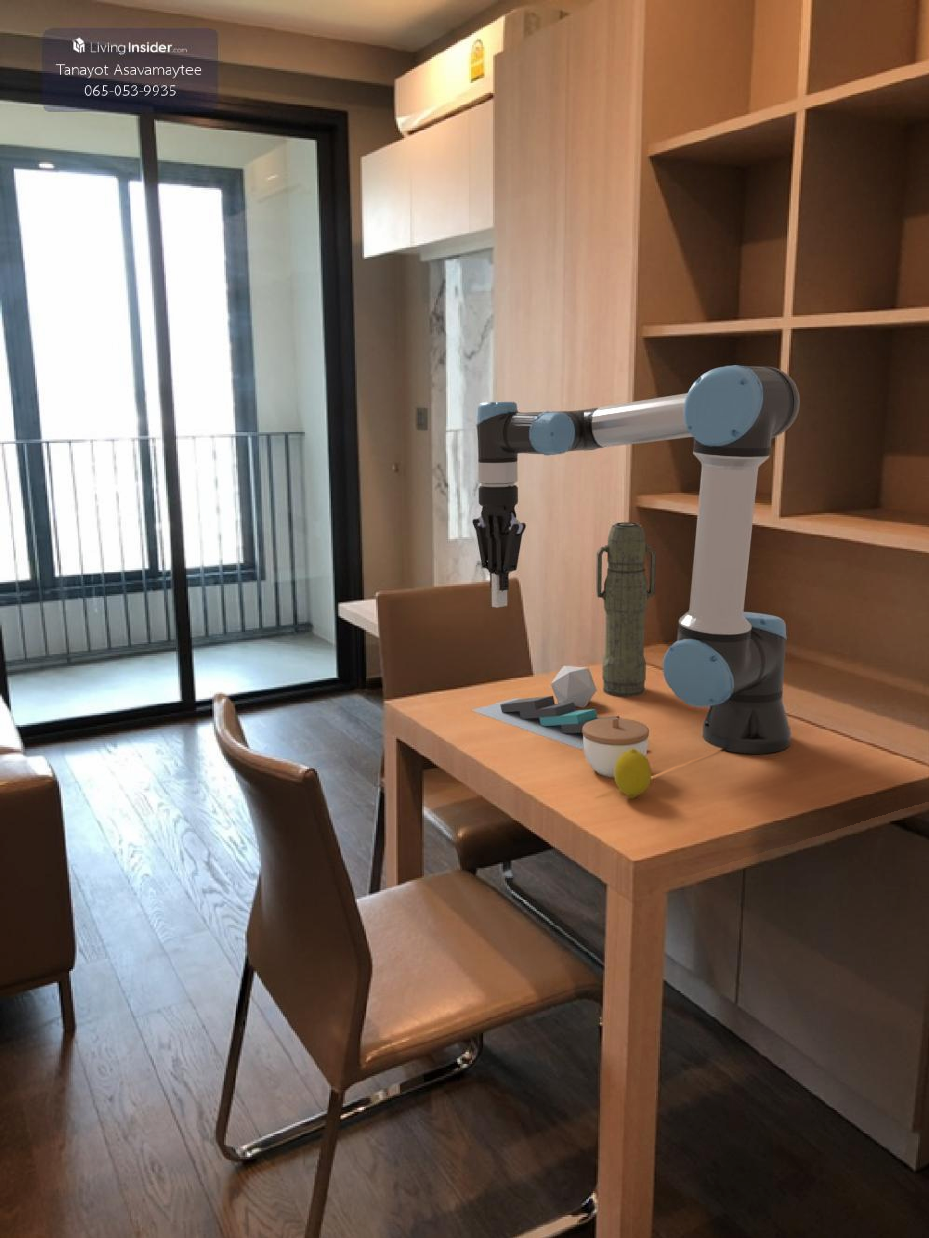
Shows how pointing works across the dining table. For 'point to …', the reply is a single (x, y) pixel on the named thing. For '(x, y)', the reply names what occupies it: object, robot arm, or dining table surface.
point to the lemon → (632, 773)
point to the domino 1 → (527, 704)
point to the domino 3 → (578, 726)
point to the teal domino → (569, 718)
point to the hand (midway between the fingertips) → (499, 605)
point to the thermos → (625, 608)
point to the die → (574, 686)
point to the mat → (532, 724)
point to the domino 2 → (548, 711)
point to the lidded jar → (612, 742)
